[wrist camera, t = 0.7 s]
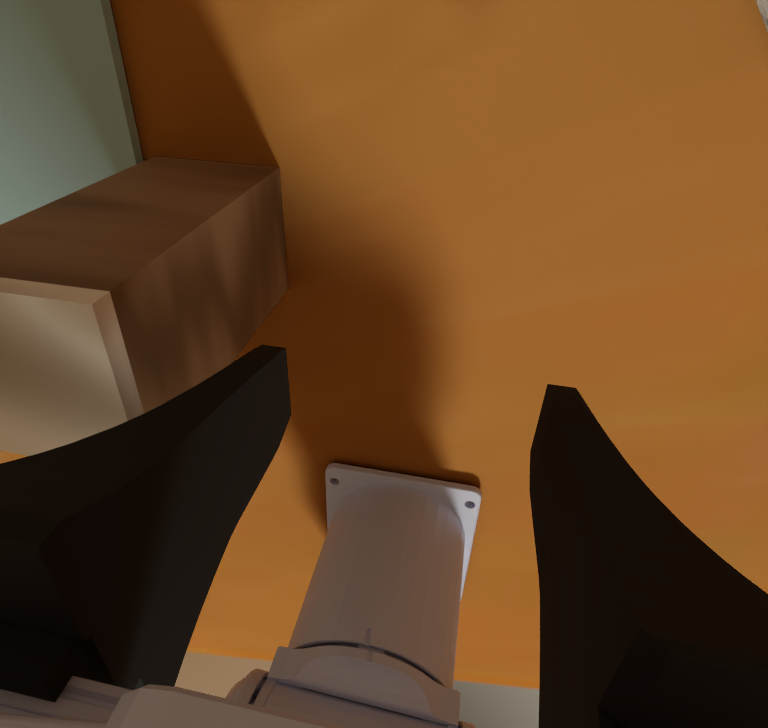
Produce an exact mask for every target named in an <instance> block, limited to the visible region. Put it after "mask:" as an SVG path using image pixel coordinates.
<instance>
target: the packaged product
mask: <svg viewBox="0 0 768 728" xmlns="http://www.w3.org/2000/svg"><path fill="white" fill-rule="evenodd" d="M756 1H757V5H758V8H759V10H760V13H761V16H762V18H763V21H764V23H765V26H766V28H767V31H768V0H756Z"/></svg>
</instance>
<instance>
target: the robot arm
mask: <svg viewBox="0 0 768 728" xmlns="http://www.w3.org/2000/svg"><path fill="white" fill-rule="evenodd" d="M290 416H291V406H290V393H289V381H288V369H287V357H286V348H282V347H275V346H267V345H261V346H259V347H257V348H255V349H254V350H252V351H250V352H249V353H247V354H245V355H244V356H242V357H241V358H239V359H238V360H236V361H234V362H233V363H231V364H230V365H228V366H227V367H225V368H223V369H222V370H220V371H219V372H217V373H215V374H214V375H212V376H211V377H209V378H207V379H206V380H204V381H203V382H201V383H199V384H198V385H196V386H194V387H192V388H191V389H189V390H187V391H185V392H183V393H182V394H180V395H178V396H176V397H175V398H173V399H171V400H169V401H167V402H166V403H164V404H162V405H160V406H158V407H156V408H154V409H152V410H150V411H148V412H146V413H144V414H142V415H140V416H137V417H135V418H133V419H131V420H129V421H126V422H124V423H122V424H120V425H117V426H115V427H112V428H110V429H107V430H105V431H102V432H99V433H97V434H94V435H91V436H89V437H86V438H83V439H81V440H78V441H76V442H73V443H70V444H67V445H64V446H61V447H58V448H54V449H51V450H48V451H45V452H42V453H38V454H35V455H31V456H28V457H24V458H21V459H17V460H13V461H10V462H6V463H2V464H0V728H475V726H474V725H473V724H471V723H466V722H462V721H459V707H460V692H459V691H457V690H453V679H454V667H455V655H456V643H457V631H458V620H459V608H460V600H461V598H462V593H463V588H464V583H465V578H466V573H467V568H468V563H469V558H470V553H471V548H472V543H473V538H474V533H475V528H476V523H477V518H478V513H479V508H480V503H481V497H482V493H481V490H480V489H479V488H477V487H475V486H471V485H465V484H459V483H453V482H447V481H441V480H435V479H429V478H423V477H417V476H411V475H405V474H399V473H393V472H387V471H381V470H375V469H369V468H363V467H357V466H351V465H345V464H339V463H331V464H329V465H328V466H327V468H326V471H325V480H326V506H327V535H326V538H325V541H324V544H323V547H322V550H321V553H320V555H319V558H318V561H317V564H316V567H315V570H314V573H313V576H312V579H311V582H310V585H309V587H308V590H307V593H306V596H305V599H304V602H303V605H302V608H301V611H300V614H299V617H298V620H297V622H296V625H295V628H294V631H293V634H292V637H291V640H290V643H289V646H288V648H286V647H281V646H280V647H278V648H277V651H276V654H275V657H274V660H273V662H272V665H271V668H270V671H269V672H268V671H264V670H261V669H255V670H253V671H251V672H250V673H249V674H248V675H247V676H246V677H245V678H243V679H242V680H241V681H239V682H238V683H236V684H235V685H234V686H233V688H232V689H231V690H230V692H229V693H228V695H227V696H226V698H221V697H217V696H213V695H209V694H204V693H200V692H196V691H192V690H187V689H183V688H179V687H174V685H175V682H176V680H177V677H178V673H179V670H180V668H181V664H182V662H183V658H184V656H185V653H186V650H187V647H188V645H189V642H190V639H191V636H192V634H193V631H194V628H195V625H196V623H197V620H198V617H199V614H200V612H201V609H202V606H203V604H204V601H205V599H206V596H207V594H208V591H209V589H210V586H211V583H212V581H213V578H214V576H215V573H216V571H217V568H218V566H219V564H220V561H221V559H222V556H223V554H224V552H225V549H226V547H227V544H228V542H229V540H230V537H231V535H232V533H233V531H234V529H235V527H236V525H237V523H238V521H239V519H240V517H241V516H242V514H243V512H244V510H245V508H246V507H247V505H248V503H249V501H250V499H251V497H252V496H253V494H254V492H255V490H256V488H257V487H258V485H259V483H260V481H261V479H262V478H263V476H264V474H265V472H266V470H267V468H268V466H269V465H270V463H271V461H272V459H273V457H274V455H275V453H276V452H277V450H278V448H279V445H280V442H281V440H282V437H283V435H284V432H285V430H286V427H287V424H288V421H289V418H290ZM334 478H336V479H338V480H336V479H334ZM530 499H531V508H532V518H533V528H534V537H535V546H536V555H537V565H538V574H539V588H540V694H539V697H540V698H539V728H768V594H767V593H766V592H764V591H763V590H762V589H760V588H759V587H758V586H756V585H755V584H754V583H752V582H751V581H750V580H748V579H747V578H746V577H744V576H743V575H742V574H741V573H739V572H738V571H737V570H736V569H734V568H733V567H732V566H731V565H729V564H728V563H727V562H726V561H725V560H723V559H722V558H721V557H720V556H719V555H717V554H716V553H715V552H714V551H713V550H712V549H711V548H709V547H708V546H707V545H706V544H705V543H704V542H703V541H701V540H700V539H699V538H698V537H697V536H696V535H695V534H693V533H692V532H691V531H690V530H689V529H688V528H687V527H686V526H685V525H684V524H683V523H682V522H681V521H680V520H679V519H678V518H677V517H676V516H675V515H674V514H673V513H672V512H671V511H670V510H669V509H668V508H667V507H666V506H665V505H664V504H663V503H662V502H661V501H660V500H659V499H658V498H657V497H656V496H655V495H654V494H653V492H652V491H651V490H650V489H649V488H648V487H647V486H646V485H645V484H644V482H643V481H642V480H641V479H640V478H639V476H638V475H637V474H636V473H635V472H634V470H633V469H632V468H631V467H630V465H629V464H628V463H627V462H626V460H625V459H624V458H623V456H622V455H621V454H620V452H619V451H618V450H617V448H616V447H615V445H614V444H613V443H612V441H611V440H610V439H609V437H608V436H607V434H606V433H605V431H604V430H603V429H602V427H601V426H600V424H599V423H598V421H597V420H596V418H595V417H594V415H593V413H592V412H591V410H590V409H589V407H588V406H587V404H586V403H585V401H584V399H583V398H582V396H581V395H580V393H579V392H578V391H577V389H576V388H572V387H565V386H558V385H551V384H548V385H547V389H546V393H545V397H544V400H543V404H542V408H541V412H540V416H539V420H538V424H537V428H536V432H535V436H534V439H533V443H532V447H531V453H530ZM467 501H471V502H467Z"/></svg>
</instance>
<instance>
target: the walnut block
mask: <svg viewBox="0 0 768 728" xmlns="http://www.w3.org/2000/svg"><path fill="white" fill-rule="evenodd" d="M287 290H288V278H287V264H286V251H285V237H284V224H283V210H282V197H281V183H280V170H279V167H270V166H259V165H248V164H236V163H225V162H214V161H203V160H192V159H181V158H169V157H158V156H154V157H152V158H150V159H147V160H145V161H143V162H141V163H138V164H136V165H134V166H132V167H129V168H127V169H125V170H123V171H120V172H118V173H116V174H114V175H111V176H109V177H107V178H105V179H102V180H100V181H98V182H96V183H93V184H91V185H89V186H87V187H84V188H82V189H80V190H78V191H75V192H73V193H71V194H69V195H66V196H64V197H62V198H60V199H57V200H55V201H53V202H51V203H48V204H46V205H44V206H42V207H39V208H37V209H35V210H33V211H30V212H28V213H26V214H24V215H21V216H19V217H17V218H15V219H12V220H10V221H8V222H6V223H3V224H1V225H0V451H6V452H11V453H17V454H22V455H28V456H31V455H35V454H38V453H42V452H45V451H48V450H51V449H54V448H58V447H61V446H64V445H67V444H70V443H73V442H76V441H78V440H81V439H83V438H86V437H89V436H91V435H94V434H97V433H99V432H102V431H105V430H107V429H110V428H112V427H115V426H117V425H120V424H122V423H124V422H126V421H129V420H131V419H133V418H135V417H137V416H140V415H142V414H144V413H146V412H148V411H150V410H152V409H154V408H156V407H158V406H160V405H162V404H164V403H166V402H167V401H169V400H171V399H173V398H175V397H176V396H178V395H180V394H182V393H183V392H185V391H187V390H189V389H191V388H192V387H194V386H196V385H198V384H199V383H201V382H203V381H204V380H206V379H207V378H209V377H211V376H212V375H214V374H215V373H217V372H219V371H220V370H222V369H223V368H225V367H227V366H228V365H230V364H231V363H232V362H233V361H234V359H235V358H236V357H237V355H238V354H239V353H240V352H241V350H242V349H243V348H244V346H245V345H246V344H247V342H248V341H249V340H250V338H251V337H252V336H253V335H254V333H255V332H256V331H257V329H258V328H259V327H260V325H261V324H262V323H263V322H264V320H265V319H266V318H267V316H268V315H269V314H270V312H271V311H272V310H273V308H274V307H275V306H276V305H277V303H278V302H279V301H280V299H281V298H282V297H283V295H284V294H285V293H286V291H287Z"/></svg>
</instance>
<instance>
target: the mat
mask: <svg viewBox="0 0 768 728" xmlns="http://www.w3.org/2000/svg"><path fill="white" fill-rule="evenodd" d="M141 162H143V156H142V151H141V147H140V142H139V137H138V132H137V128H136V123H135V118H134V113H133V109H132V104H131V99H130V94H129V90H128V85H127V80H126V75H125V71H124V66H123V61H122V56H121V52H120V47H119V42H118V37H117V33H116V28H115V23H114V18H113V14H112V9H111V4H110V0H0V225H1V224H3V223H6V222H8V221H10V220H12V219H15V218H17V217H19V216H21V215H24V214H26V213H28V212H30V211H33V210H35V209H37V208H39V207H42V206H44V205H46V204H48V203H51V202H53V201H55V200H57V199H60V198H62V197H64V196H66V195H69V194H71V193H73V192H75V191H78V190H80V189H82V188H84V187H87V186H89V185H91V184H93V183H96V182H98V181H100V180H102V179H105V178H107V177H109V176H111V175H114V174H116V173H118V172H120V171H123V170H125V169H127V168H129V167H132V166H134V165H136V164H138V163H141Z"/></svg>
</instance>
